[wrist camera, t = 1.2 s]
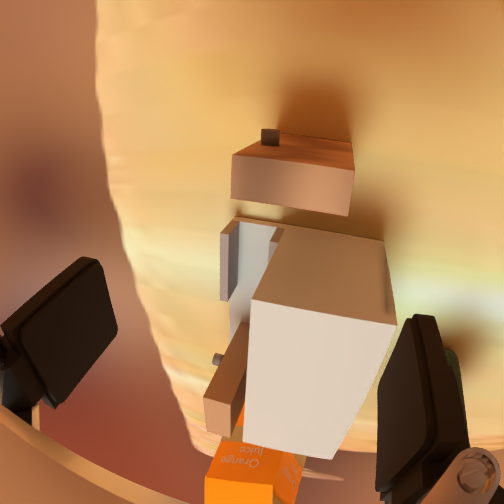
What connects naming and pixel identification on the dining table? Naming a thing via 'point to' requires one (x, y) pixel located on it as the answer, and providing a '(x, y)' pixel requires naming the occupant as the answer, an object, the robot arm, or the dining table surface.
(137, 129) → the dining table surface
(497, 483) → the robot arm
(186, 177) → the dining table surface
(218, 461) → the orange juice
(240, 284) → the cabinet
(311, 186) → the door
